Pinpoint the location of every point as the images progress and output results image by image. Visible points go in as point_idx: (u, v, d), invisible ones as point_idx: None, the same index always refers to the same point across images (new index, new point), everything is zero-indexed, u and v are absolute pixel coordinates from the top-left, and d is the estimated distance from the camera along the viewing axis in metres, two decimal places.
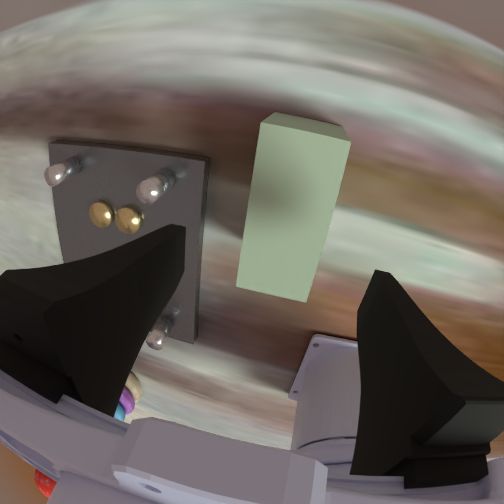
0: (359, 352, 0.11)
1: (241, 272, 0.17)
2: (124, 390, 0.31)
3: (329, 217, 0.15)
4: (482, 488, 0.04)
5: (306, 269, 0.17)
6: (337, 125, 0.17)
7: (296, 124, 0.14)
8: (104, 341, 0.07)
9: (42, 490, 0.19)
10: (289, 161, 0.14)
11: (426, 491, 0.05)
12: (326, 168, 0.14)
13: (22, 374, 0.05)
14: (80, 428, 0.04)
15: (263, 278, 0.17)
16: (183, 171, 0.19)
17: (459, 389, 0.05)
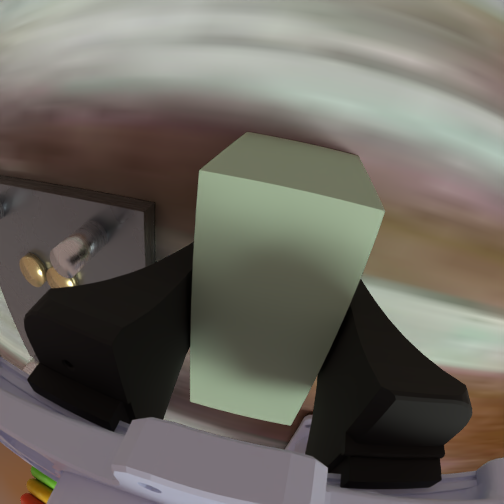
0: None
1: (195, 389, 0.11)
2: None
3: (331, 336, 0.08)
4: (482, 488, 0.04)
5: (290, 395, 0.10)
6: (350, 154, 0.10)
7: (276, 165, 0.08)
8: (158, 360, 0.07)
9: None
10: (259, 247, 0.07)
11: None
12: (333, 260, 0.07)
13: (72, 402, 0.05)
14: (80, 428, 0.04)
15: (227, 399, 0.11)
16: (116, 224, 0.13)
17: (392, 383, 0.05)
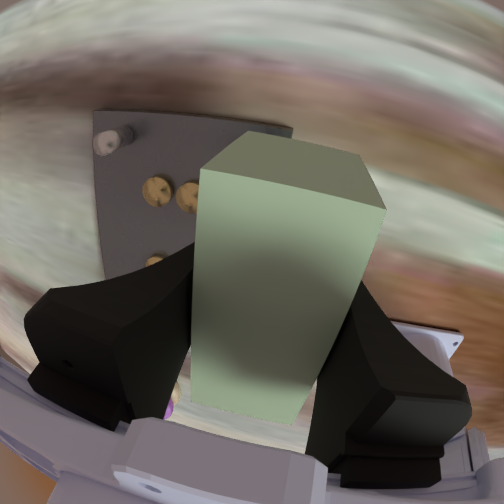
0: None
1: (195, 389, 0.11)
2: None
3: (333, 335, 0.08)
4: (482, 488, 0.04)
5: (291, 394, 0.10)
6: (351, 153, 0.10)
7: (277, 164, 0.08)
8: (158, 360, 0.07)
9: None
10: (260, 245, 0.07)
11: None
12: (334, 258, 0.07)
13: (72, 402, 0.05)
14: (80, 428, 0.04)
15: (228, 398, 0.11)
16: None
17: (392, 383, 0.05)
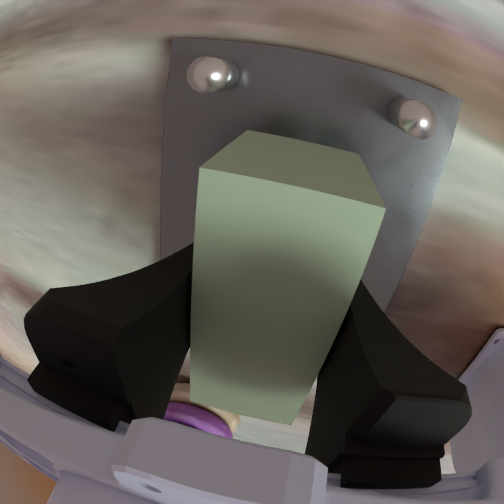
0: None
1: (195, 388, 0.11)
2: (224, 426, 0.23)
3: (332, 335, 0.08)
4: (482, 488, 0.04)
5: (291, 394, 0.10)
6: (350, 153, 0.10)
7: (276, 163, 0.08)
8: (158, 360, 0.07)
9: None
10: (260, 244, 0.07)
11: None
12: (333, 257, 0.07)
13: (72, 402, 0.05)
14: (80, 428, 0.04)
15: (227, 398, 0.11)
16: (432, 106, 0.11)
17: (392, 382, 0.05)
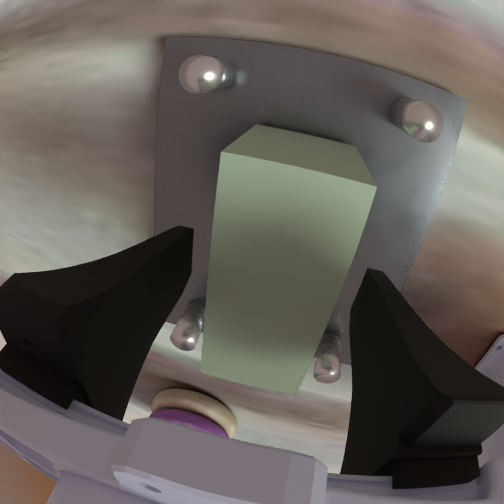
0: (351, 351, 0.11)
1: (206, 359, 0.12)
2: (222, 433, 0.23)
3: (333, 301, 0.10)
4: (482, 488, 0.04)
5: (295, 362, 0.11)
6: (348, 145, 0.12)
7: (284, 150, 0.09)
8: (114, 345, 0.07)
9: None
10: (271, 217, 0.09)
11: (415, 492, 0.05)
12: (333, 229, 0.08)
13: (31, 380, 0.05)
14: (80, 428, 0.04)
15: (237, 368, 0.12)
16: (437, 107, 0.10)
17: (447, 388, 0.05)
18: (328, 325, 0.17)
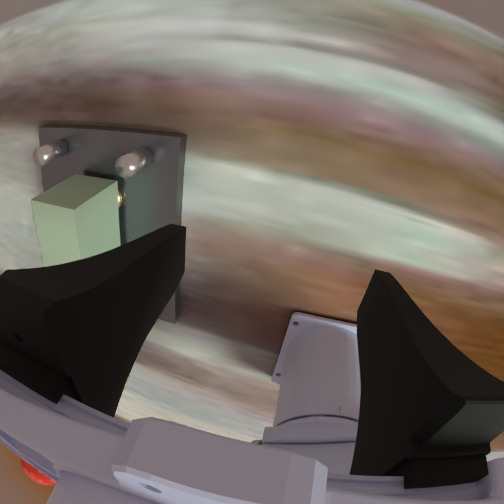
0: (359, 352, 0.11)
1: None
2: None
3: None
4: (482, 488, 0.04)
5: None
6: (112, 181, 0.21)
7: (59, 194, 0.18)
8: (104, 341, 0.07)
9: (27, 471, 0.20)
10: (49, 225, 0.18)
11: (426, 491, 0.05)
12: (67, 228, 0.17)
13: (22, 374, 0.05)
14: (80, 428, 0.04)
15: None
16: (161, 148, 0.20)
17: (459, 389, 0.05)
18: None
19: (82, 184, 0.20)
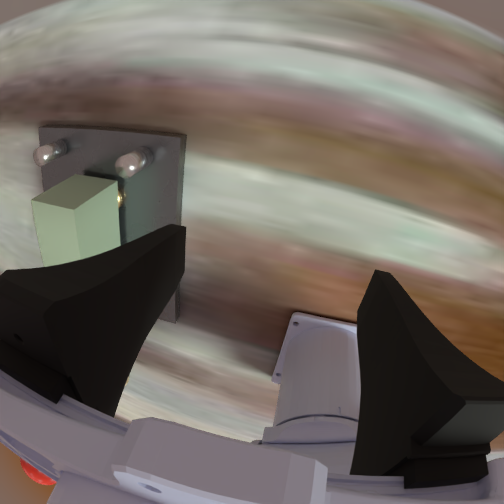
0: (359, 352, 0.11)
1: None
2: None
3: None
4: (482, 488, 0.04)
5: None
6: (112, 181, 0.21)
7: (59, 194, 0.18)
8: (104, 341, 0.07)
9: (27, 471, 0.20)
10: (49, 225, 0.18)
11: (426, 491, 0.05)
12: (67, 228, 0.17)
13: (22, 374, 0.05)
14: (80, 428, 0.04)
15: None
16: (161, 148, 0.20)
17: (459, 389, 0.05)
18: None
19: (82, 184, 0.20)
